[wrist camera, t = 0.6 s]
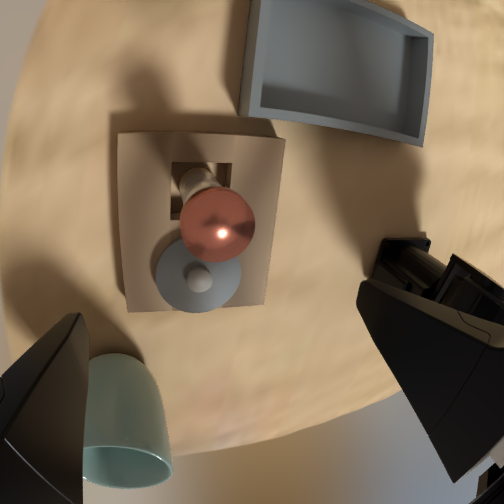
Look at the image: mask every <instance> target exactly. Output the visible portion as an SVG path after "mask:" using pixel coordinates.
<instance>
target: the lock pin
mask: <svg viewBox="0 0 504 504" xmlns="http://www.w3.org/2000/svg"><path fill="white" fill-rule="evenodd" d="M179 190H180V194H181V198H182V202H183V208H182V210H181V213H180V220H179V222H180V230H181V235H182V239H183V242H184V244H185V246H186V248H187V249H188V250H189V251H190V252H191V253H192V254H193V255H194V256H196V257H197V258H199V259H201V260H204V261H208V262H223V261H227V260H230V259H232V258H234V257H236V256H238V255H239V254H240V253H242V252H243V251H244V250H245V249H246V248H247V246H248V245H249V244H250V242H251V240H252V238H253V235H254V232H255V217H254V213H253V211H252V209H251V207H250V206H249V204H248V203H247V202H246V201H245V200H244V199H243V198H242V197H241V196H240V195H239V194H238V193H237V192H236V191H234V190H232V189H230V188H227V187H223V186H221V184H220V183H219V182H218V181H217V179H216V178H215V177H214V176H213V174H212V173H211V172H210V171H208V170H206V169H204V168H194V169H191V170H189V171H187V172H186V173H185V174H184V175H183V176H182V178H181V180H180V184H179Z"/></svg>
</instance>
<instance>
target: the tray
mask: <svg viewBox="0 0 504 504" xmlns="http://www.w3.org/2000/svg"><path fill="white" fill-rule="evenodd" d="M433 42H434V34H433V33H431V32H430V31H428V30H426V29H424V28H423V27H421V26H419V25H417V24H415V23H413V22H411V21H410V20H408V19H406V18H404V17H402V16H400V15H398V14H396V13H393V12H391V11H389V10H387V9H385V8H383V7H380V6H378V5H376V4H374V3H371V2H369V1H367V0H251V2H250V10H249V18H248V26H247V35H246V43H245V52H244V61H243V70H242V80H241V89H240V99H239V109H238V115H239V116H248V117H259V118H269V119H277V120H286V121H293V122H300V123H307V124H314V125H320V126H326V127H332V128H338V129H343V130H349V131H354V132H359V133H364V134H369V135H373V136H378V137H382V138H387V139H391V140H395V141H399V142H403V143H407V144H411V145H415V146H419V147H422V148H423V142H424V135H425V129H426V122H427V114H428V106H429V97H430V87H431V76H432V62H433Z"/></svg>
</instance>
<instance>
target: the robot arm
mask: <svg viewBox="0 0 504 504" xmlns="http://www.w3.org/2000/svg"><path fill="white" fill-rule="evenodd" d="M387 243H388V244H387ZM386 244H387V245H386ZM430 245H431V241H430V240H429V239H428V238H385V239H384V240H383V241H382V243H381V247H380V250H379V254H378V258H377V261H376V265H375V268H374V272H373V275H372V279H370V280H364V281H362V282H361V283H360V287H359V291H358V295H357V300H356V306H357V309H358V311H359V313H360V315H361V317H362V319H363V321H364V323H365V325H366V327H367V329H368V331H369V333H370V335H371V337H372V339H373V341H374V343H375V345H376V347H377V348H378V350H379V351H380V353H381V355H382V356H383V358H384V360H385V361H386V363H387V365H388V366H389V368H390V370H391V371H392V373H393V375H394V376H395V378H396V380H397V381H398V383H399V385H400V387H401V388H402V390H403V392H404V393H405V395H406V397H407V399H408V400H409V402H410V404H411V405H412V407H413V409H414V411H415V413H416V414H417V416H418V418H419V420H420V422H421V423H422V425H423V427H424V429H425V431H426V432H427V434H428V435H429V438H430V440H431V442H432V444H433V446H434V448H435V450H436V451H437V453H438V455H439V457H440V459H441V461H442V463H443V464H444V467H445V469H446V471H447V473H448V475H449V476H450V479H451V480H452V482H453V483H456V482H457V481H458V480H459V479H461V478H462V477H464V476H465V475H466V474H468V473H469V472H470V471H472V470H473V469H474V468H475V467H477V466H478V465H479V464H480V463H482V462H483V461H484V460H485V459H486V458H487V457H489V456H491V457H492V459H493V460H494V461H495V463H494V464H493V465H492V466H491V467H490V468H489V469H488V470H486V471H485V472H484V473H483V474H482V475H481V476H480V477H479V482H478V489H477V495H476V498H475V499H474V500H473V501H472V502H470V503H469V504H504V288H503V287H502V286H501V285H500V284H498V283H497V282H496V281H495V280H493V279H492V278H491V277H489V276H488V275H486V274H485V273H483V272H482V271H481V270H479V269H478V268H476V267H475V266H473V265H471V264H470V263H468V262H467V261H465V260H463V259H462V258H460V257H458V256H456V255H455V254H452V256H451V257H450V261H449V263H448V265H447V266H446V265H444V264H443V263H441V262H440V261H438V260H437V259H436V258H434V257H433V256H431V255H430V254H428V251H429V248H430ZM89 343H90V340H89V334H88V331H87V328H86V325H85V322H84V318H83V316H82V314H81V313H80V312H77V313H68V314H67V315H66V316H64V317H63V318H62V319H61V320H60V321H59V322H58V323H57V324H55V325H54V326H53V327H52V328H51V329H50V330H49V331H48V332H47V333H46V334H44V335H43V336H42V337H41V338H40V339H39V340H38V341H37V342H36V343H35V344H34V345H33V346H31V347H30V348H29V349H28V350H27V351H26V352H25V353H24V354H23V355H22V356H21V357H20V358H19V359H18V360H17V361H16V362H15V363H14V364H13V365H12V366H10V368H8V369H7V371H5V372H4V374H2V376H1V377H2V378H1V377H0V504H83V446H84V428H85V415H86V404H87V395H88V384H89Z"/></svg>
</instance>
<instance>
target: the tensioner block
mask: <svg viewBox="0 0 504 504" xmlns="http://www.w3.org/2000/svg"><path fill="white" fill-rule="evenodd" d="M285 140H286V139H282V138H279V137H271V136H260V135H247V134H232V133H213V132H181V131H143V132H120V133H118V147H117V185H118V215H119V233H120V247H121V259H122V269H123V279H124V288H125V296H126V304H127V311H128V312H155V311H177V310H181V311H184V312H189V313H202V312H207V311H211V310H214V309H216V308H226V307H239V306H252V305H264V299H265V292H266V285H267V278H268V271H269V264H270V257H271V249H272V242H273V234H274V227H275V219H276V212H277V204H278V196H279V189H280V181H281V173H282V165H283V157H284V148H285ZM172 162H216V163H227V172H226V184H225V187H227V188H230V189H232V190H234V191H236V192H237V193H238V194H239V195H240V196H241V197H242V198H243V199H244V200H245V201H246V202H247V203H248V204H249V206H250V207H251V209H252V211H253V213H254V217H255V232H254V235H253V238H252V240H251V242H250V244H249V245H248V246H247V248H246V249H245V250H244V251H243V252H242V253H240V254H239V255H238V256H236V257H234V258H232V259H230V260H227V261H223V262H208V261H204V260H201V259H199V258H197V257H196V256H194V255H193V254H192V253H191V252H190V251H189V250H188V249H187V248H186V246H185V244H184V242H183V239H182V235H181V230H180V222H179V220H180V213H170V198H171V165H172Z"/></svg>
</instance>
